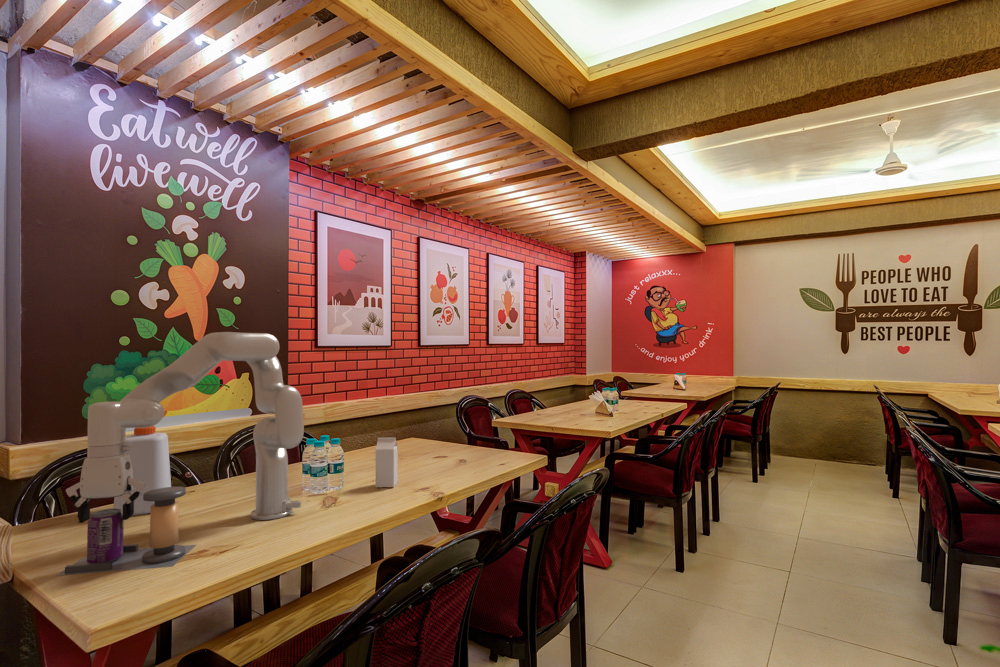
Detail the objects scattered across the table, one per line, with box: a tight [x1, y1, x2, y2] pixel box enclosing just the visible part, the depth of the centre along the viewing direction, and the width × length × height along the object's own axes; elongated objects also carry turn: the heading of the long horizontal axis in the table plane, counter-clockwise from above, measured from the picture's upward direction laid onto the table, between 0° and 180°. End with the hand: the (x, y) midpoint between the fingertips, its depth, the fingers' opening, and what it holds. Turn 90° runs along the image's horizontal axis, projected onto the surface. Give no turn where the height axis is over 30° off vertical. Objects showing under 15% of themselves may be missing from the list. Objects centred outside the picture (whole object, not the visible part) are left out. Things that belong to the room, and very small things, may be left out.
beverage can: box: [86, 508, 125, 564], centre depth 124 cm, size 7×7×12 cm
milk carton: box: [375, 436, 399, 488], centre depth 197 cm, size 7×7×19 cm
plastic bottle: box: [112, 425, 172, 516], centre depth 170 cm, size 15×15×28 cm
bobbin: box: [142, 486, 187, 564], centre depth 127 cm, size 9×9×16 cm
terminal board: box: [54, 543, 197, 577], centre depth 125 cm, size 25×14×3 cm, turn 100°
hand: (106, 519), depth 125 cm, fingers open, 9 cm apart
